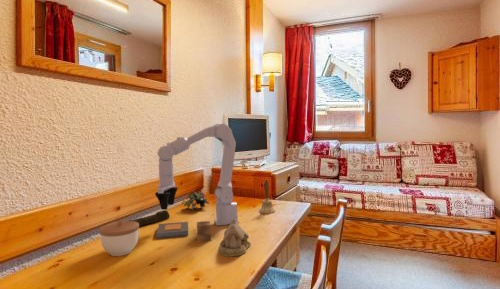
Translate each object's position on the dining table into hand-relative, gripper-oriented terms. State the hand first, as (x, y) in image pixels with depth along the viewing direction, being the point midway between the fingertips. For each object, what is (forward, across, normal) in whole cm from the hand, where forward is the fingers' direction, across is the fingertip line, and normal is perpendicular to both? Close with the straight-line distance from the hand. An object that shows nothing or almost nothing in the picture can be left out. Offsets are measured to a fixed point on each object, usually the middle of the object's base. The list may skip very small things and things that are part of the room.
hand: (167, 206), depth 127 cm
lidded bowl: (+10, +23, -9) cm, 26 cm away
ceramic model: (+10, +18, +31) cm, 37 cm away
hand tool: (+10, -9, -12) cm, 18 cm away
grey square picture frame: (+10, +2, +3) cm, 10 cm away
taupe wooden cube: (+10, +10, +18) cm, 22 cm away
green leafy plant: (+10, -32, +3) cm, 34 cm away
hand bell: (+10, -29, +40) cm, 51 cm away
